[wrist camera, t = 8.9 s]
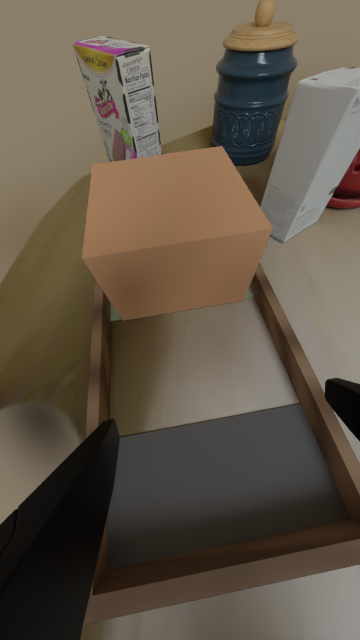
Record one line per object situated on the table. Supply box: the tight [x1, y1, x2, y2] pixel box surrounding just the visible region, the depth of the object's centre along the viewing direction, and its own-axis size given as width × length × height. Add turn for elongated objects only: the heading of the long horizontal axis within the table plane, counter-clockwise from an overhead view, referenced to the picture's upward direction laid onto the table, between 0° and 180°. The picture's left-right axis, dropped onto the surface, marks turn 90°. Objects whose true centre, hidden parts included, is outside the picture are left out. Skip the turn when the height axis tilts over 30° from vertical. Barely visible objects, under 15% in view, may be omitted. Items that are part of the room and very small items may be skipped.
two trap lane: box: [84, 263, 360, 624], centre depth 23 cm, size 42×20×3 cm, turn 9°
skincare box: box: [260, 67, 360, 243], centre depth 24 cm, size 8×6×15 cm
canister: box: [211, 0, 299, 165], centre depth 35 cm, size 13×13×18 cm
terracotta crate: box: [82, 146, 273, 321], centre depth 23 cm, size 15×15×10 cm
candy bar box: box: [73, 36, 162, 162], centre depth 31 cm, size 11×5×16 cm, turn 40°
